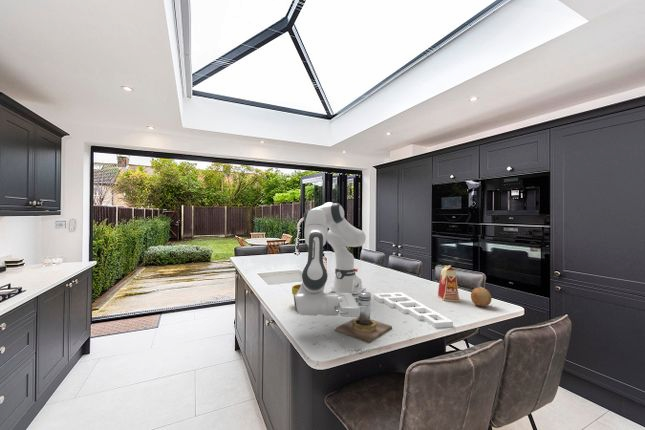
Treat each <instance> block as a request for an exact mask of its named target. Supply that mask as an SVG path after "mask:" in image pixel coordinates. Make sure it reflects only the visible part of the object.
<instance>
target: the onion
mask: <svg viewBox="0 0 645 430" xmlns="http://www.w3.org/2000/svg"><path fill="white" fill-rule="evenodd" d="M470 299H471V301H472V303H473V304H475V306H477V307H482V308H483V307H487V306H489V305H491V303H492V295H491V293H490V291H489V290H488V289H486V288H484V287H482V286H479V287H475V288H473V290H471V293H470Z"/></svg>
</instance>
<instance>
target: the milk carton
mask: <svg viewBox="0 0 645 430" xmlns="http://www.w3.org/2000/svg"><path fill="white" fill-rule="evenodd" d="M456 271H457V270H456V269H454V268H453V267H452V264H450V265H444V267H443V268H442V269H441V271H440V277H439V281H438V290H437V297H438V298H439V297H440V298H439V299H440V300H442V301H443V300H445V301H444V302H458V301H461V300H460V296H459V289H458V288H459V287H458V281H457V272H456Z"/></svg>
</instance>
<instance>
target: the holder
mask: <svg viewBox="0 0 645 430" xmlns="http://www.w3.org/2000/svg"><path fill="white" fill-rule="evenodd" d="M372 296H373V297H372V298H373V299H374V300H376V301H377V302H378V303H383V304H385V305H386V304H387V305H386V306H388V307H389V308H393V309H394V308H395V309H396V310H398V311H399V312H401V313H402V314H405V315H406V314H408V315H410V316H411V317H413V318H414V319H415V320H417V321H423V320H424V321H423V322H425V323H426V322H427V324H428V325H430V326H431V325H432V326H431V327H433V328H434V327H435V329H439V328H451V326H454V320H451V319H449V318H448V317H446V316H445V315H442V314H441V313H439V312H437V311H436V310H433V309H432V308H430V307H428V306H426V305H425V304H423V303H421V302H419V301H417V300H416V299H415V298H412V297H410V296H409V295H407V294H405V293H404V292H382V293H381V292H380V293H373V295H372ZM396 301H397V302H396ZM414 306H415V307H414ZM420 312H421V313H420ZM424 312H425V313H424ZM436 319H437V320H436Z"/></svg>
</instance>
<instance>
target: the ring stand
mask: <svg viewBox="0 0 645 430" xmlns="http://www.w3.org/2000/svg"><path fill="white" fill-rule="evenodd" d="M392 329H393V326H392V325H390V324H387V323H384V322H380V321H377V320H374V319H371V318H370V325H367V326H362V325H359V324H358V317H354V318H353V319H352V320H349V321H347V322H345V323H343V324H340V325H339V326H337V327H335V329H334V330H335V331H337V332H339V333H341V334H344V335H347V336H351V337H353V338H355V339H358V340H360V341H364V342H366V343H369V344H370V343H371V342H373V341H374V340H376V339H377V338H379V337H381V336H382V335H384V334H385V333H388V331H390V330H392Z"/></svg>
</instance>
